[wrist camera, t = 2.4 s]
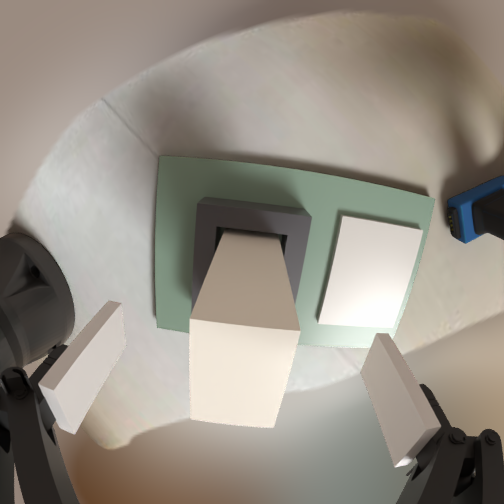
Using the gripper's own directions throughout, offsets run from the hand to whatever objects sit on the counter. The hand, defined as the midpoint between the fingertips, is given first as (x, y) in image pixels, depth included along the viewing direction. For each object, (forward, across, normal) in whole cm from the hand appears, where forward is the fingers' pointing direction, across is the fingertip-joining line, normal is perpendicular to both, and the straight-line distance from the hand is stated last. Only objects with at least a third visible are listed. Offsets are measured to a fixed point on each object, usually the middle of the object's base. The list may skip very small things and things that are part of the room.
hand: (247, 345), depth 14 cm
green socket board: (+12, +4, 0) cm, 13 cm away
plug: (+11, 0, 0) cm, 11 cm away
